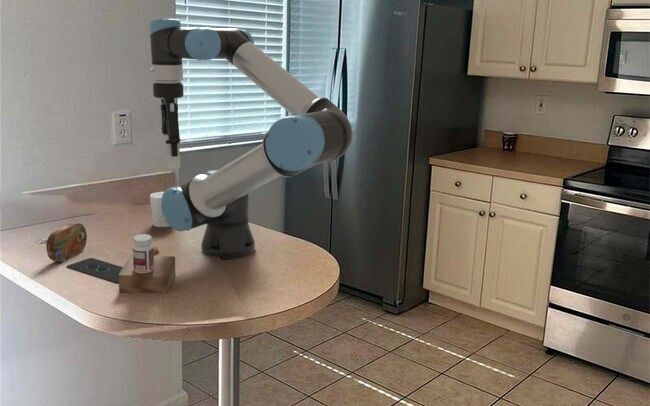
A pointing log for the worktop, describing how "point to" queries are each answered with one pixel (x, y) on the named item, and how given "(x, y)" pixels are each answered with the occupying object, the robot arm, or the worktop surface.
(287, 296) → the worktop surface
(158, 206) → the white cup
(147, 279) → the wooden block
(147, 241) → the pill bottle
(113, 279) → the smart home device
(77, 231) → the tin
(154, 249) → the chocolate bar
